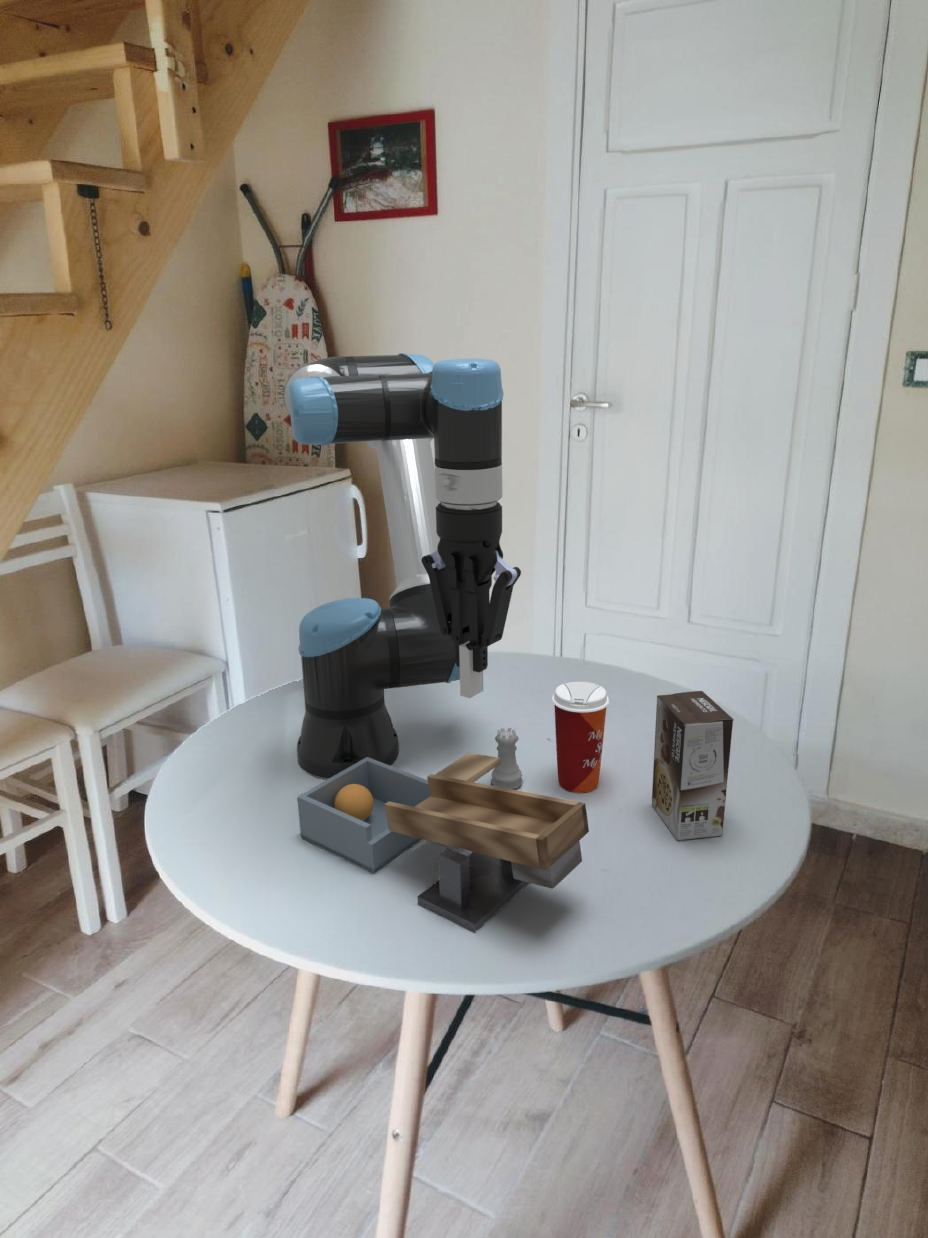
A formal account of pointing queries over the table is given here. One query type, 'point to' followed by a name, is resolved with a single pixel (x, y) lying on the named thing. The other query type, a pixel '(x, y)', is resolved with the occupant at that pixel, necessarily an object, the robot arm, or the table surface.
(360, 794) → the ball
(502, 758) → the rook chess piece
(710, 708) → the coffee box
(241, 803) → the table surface
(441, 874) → the stand
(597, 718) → the paper cup
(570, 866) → the chute
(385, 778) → the bin
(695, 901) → the table surface
